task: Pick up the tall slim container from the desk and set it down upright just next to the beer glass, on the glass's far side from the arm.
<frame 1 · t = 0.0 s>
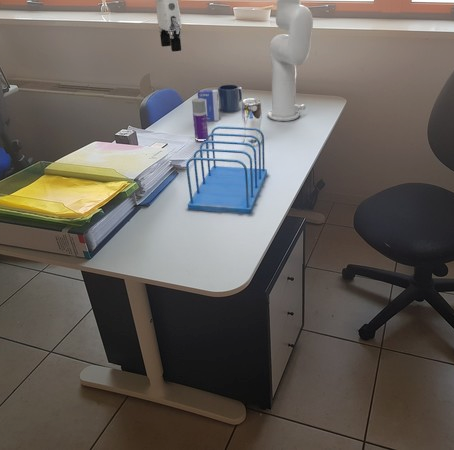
hand: (171, 48, 156), 31 cm above the table, tool pointing down, fingers open, 9 cm apart
file sorter: (230, 192, 135), on the table
blue white carton: (209, 120, 189), on the table
container: (201, 141, 169), on the table
coffee mug: (229, 109, 200), on the table
beer glass: (252, 143, 167), on the table
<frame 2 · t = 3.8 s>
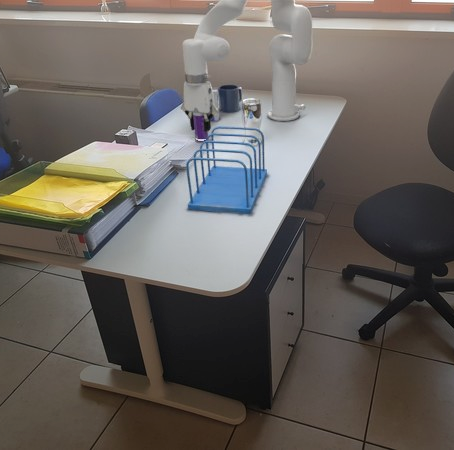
hand: (200, 129, 166), 4 cm above the table, tool pointing down, fingers closed on container, 4 cm apart
container: (201, 141, 169), on the table, touching gripper
everything else where it was.
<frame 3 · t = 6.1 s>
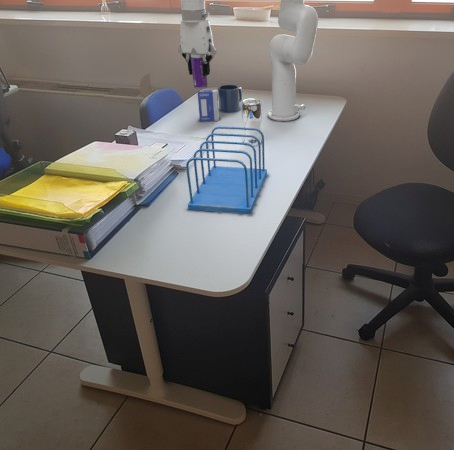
hand: (199, 73, 156), 24 cm above the table, tool pointing down, fingers closed on container, 4 cm apart
container: (200, 87, 158), point 19 cm above the table, touching gripper
everything else where it was.
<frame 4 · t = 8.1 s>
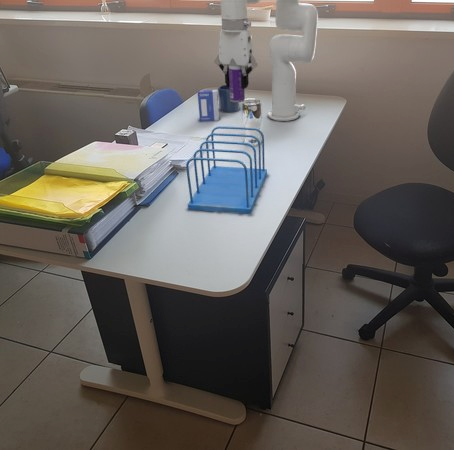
hand: (237, 86, 147), 23 cm above the table, tool pointing down, fingers closed on container, 4 cm apart
container: (237, 100, 149), point 18 cm above the table, touching gripper
everything else where it was.
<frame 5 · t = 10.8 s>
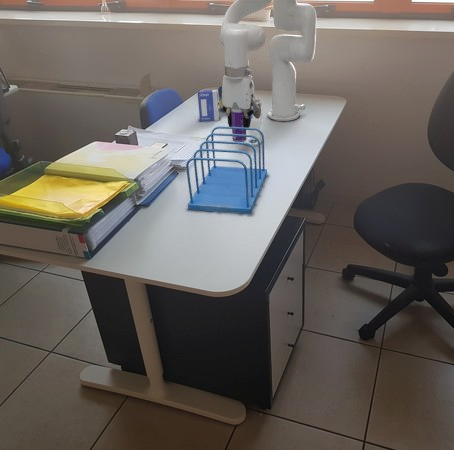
hand: (239, 127, 154), 9 cm above the table, tool pointing down, fingers closed on container, 4 cm apart
container: (239, 140, 156), point 5 cm above the table, touching gripper
everything else where it was.
when the fingers open (4 cm above the table, at t = 12.4 s): container stays where it is, on the table.
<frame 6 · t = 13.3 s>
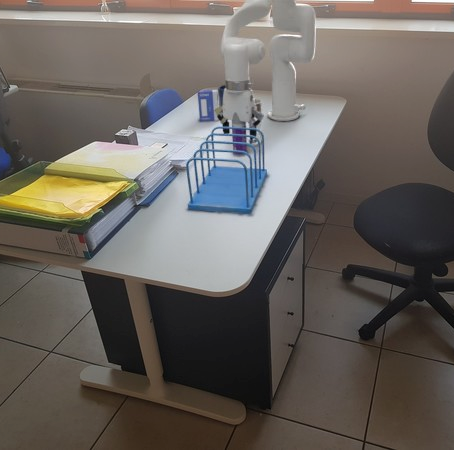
hand: (239, 136, 156), 6 cm above the table, tool pointing down, fingers open, 9 cm apart
container: (240, 153, 159), on the table
everything else where it was.
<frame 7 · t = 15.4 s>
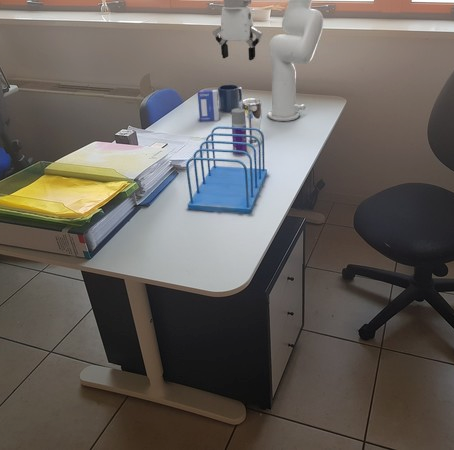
hand: (238, 58, 156), 28 cm above the table, tool pointing down, fingers open, 9 cm apart
nothing on the table moved.
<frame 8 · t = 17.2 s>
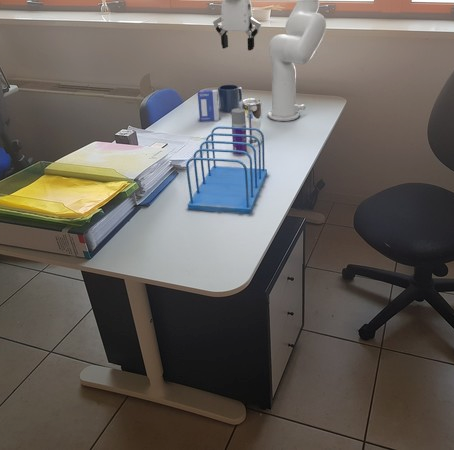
hand: (237, 48, 160), 30 cm above the table, tool pointing down, fingers open, 9 cm apart
nothing on the table moved.
at the end: container 0.1 cm from the target spot on the table beside the beer glass, on the table; container tilted 0°; beer glass moved 0.2 cm from its start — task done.
